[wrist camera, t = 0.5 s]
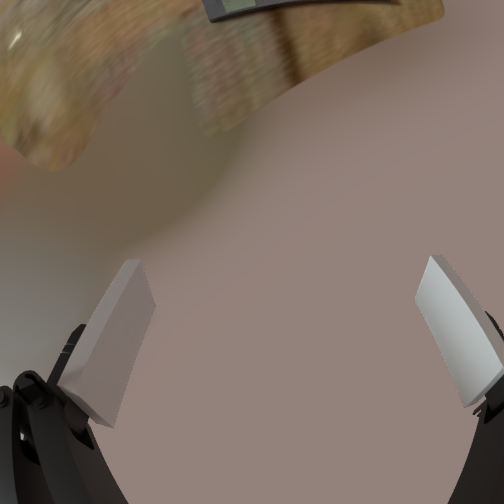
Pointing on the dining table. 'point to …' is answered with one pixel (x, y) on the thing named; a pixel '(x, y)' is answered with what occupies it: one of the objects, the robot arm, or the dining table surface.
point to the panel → (249, 6)
